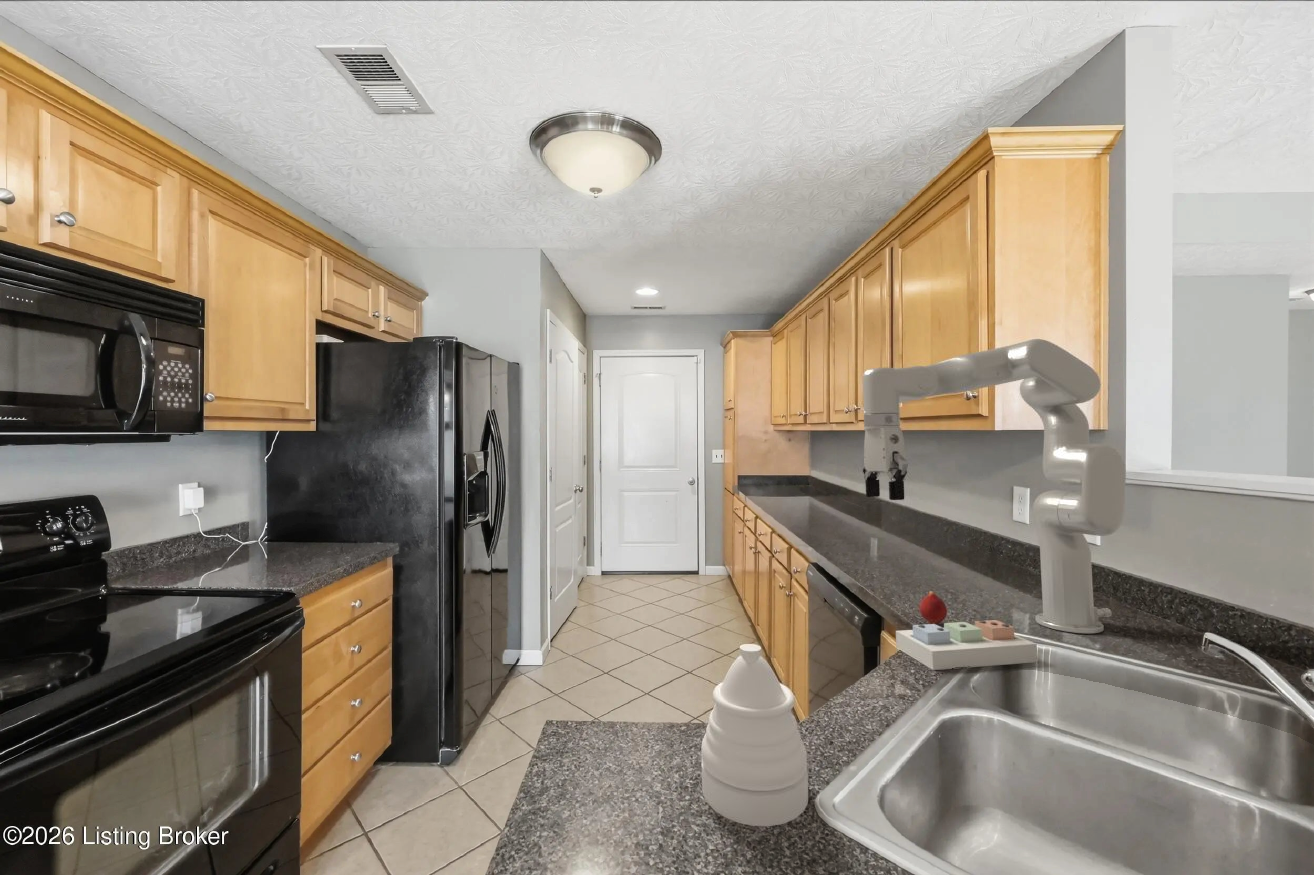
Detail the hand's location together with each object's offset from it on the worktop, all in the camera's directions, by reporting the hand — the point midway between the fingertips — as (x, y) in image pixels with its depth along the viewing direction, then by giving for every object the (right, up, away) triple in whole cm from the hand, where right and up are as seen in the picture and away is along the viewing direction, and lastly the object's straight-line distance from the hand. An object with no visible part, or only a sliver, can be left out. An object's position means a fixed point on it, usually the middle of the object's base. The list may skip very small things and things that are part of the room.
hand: (884, 498), depth 119 cm
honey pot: (-39, -30, -54) cm, 73 cm away
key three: (+18, -28, -11) cm, 35 cm away
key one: (+11, -28, -12) cm, 32 cm away
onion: (+15, -31, +7) cm, 35 cm away
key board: (+11, -30, -12) cm, 35 cm away
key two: (+4, -28, -13) cm, 31 cm away
